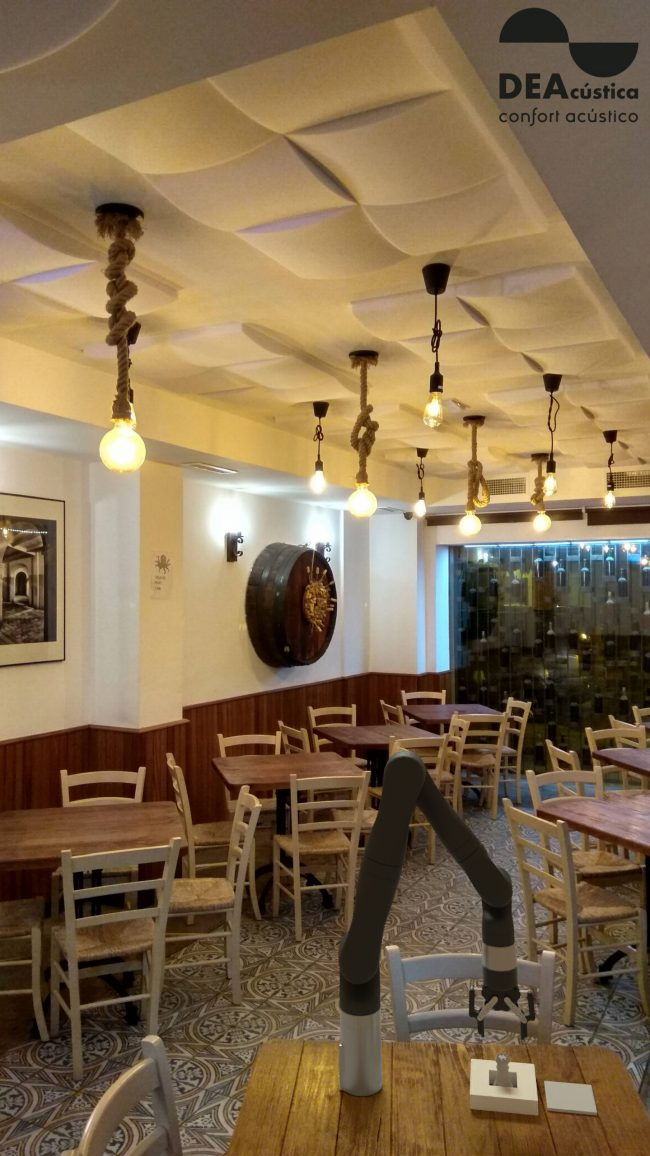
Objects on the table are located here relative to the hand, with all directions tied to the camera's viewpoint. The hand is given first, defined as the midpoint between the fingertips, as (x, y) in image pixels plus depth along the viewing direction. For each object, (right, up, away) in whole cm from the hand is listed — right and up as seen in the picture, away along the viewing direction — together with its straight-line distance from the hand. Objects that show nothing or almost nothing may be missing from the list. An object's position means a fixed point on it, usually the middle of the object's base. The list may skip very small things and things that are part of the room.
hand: (502, 1037), depth 179 cm
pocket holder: (0, -12, -1) cm, 12 cm away
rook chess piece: (0, -12, -1) cm, 12 cm away
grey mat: (+14, -12, -3) cm, 18 cm away
